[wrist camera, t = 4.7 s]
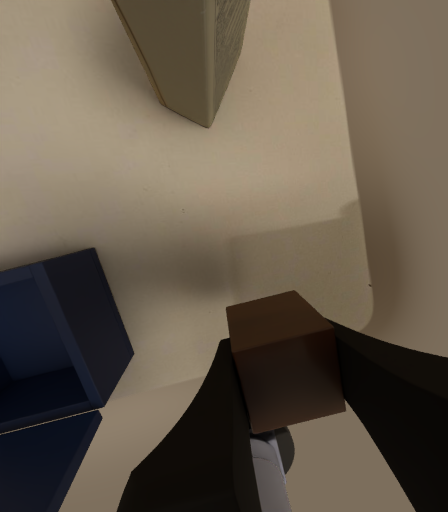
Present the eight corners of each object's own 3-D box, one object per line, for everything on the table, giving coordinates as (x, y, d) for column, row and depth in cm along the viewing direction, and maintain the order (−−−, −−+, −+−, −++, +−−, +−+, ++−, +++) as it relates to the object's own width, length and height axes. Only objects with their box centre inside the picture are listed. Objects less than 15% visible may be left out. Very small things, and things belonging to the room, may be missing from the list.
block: (306, 351, 13) (347, 412, 9) (241, 367, 13) (253, 435, 9) (294, 289, 12) (334, 326, 8) (225, 306, 12) (231, 352, 8)
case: (-37, 280, 18) (-150, 310, 13) (94, 247, 18) (41, 262, 13) (16, 384, 20) (-60, 449, 15) (134, 353, 20) (104, 407, 15)
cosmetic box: (189, 20, 16) (112, -613, 4) (244, 51, 16) (333, -412, 4) (158, 107, 17) (17, -169, 5) (211, 134, 17) (206, -53, 5)
